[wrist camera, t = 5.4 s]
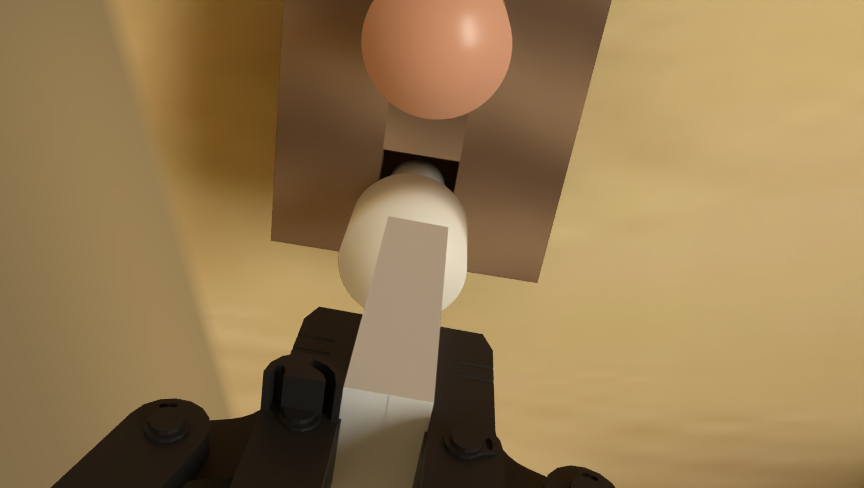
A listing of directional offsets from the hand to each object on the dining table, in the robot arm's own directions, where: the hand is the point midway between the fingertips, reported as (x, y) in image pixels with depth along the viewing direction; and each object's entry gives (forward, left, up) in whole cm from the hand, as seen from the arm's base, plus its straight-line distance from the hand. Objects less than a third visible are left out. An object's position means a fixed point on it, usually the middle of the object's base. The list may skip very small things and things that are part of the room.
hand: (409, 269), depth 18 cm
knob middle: (+4, 0, -12) cm, 13 cm away
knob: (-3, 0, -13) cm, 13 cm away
